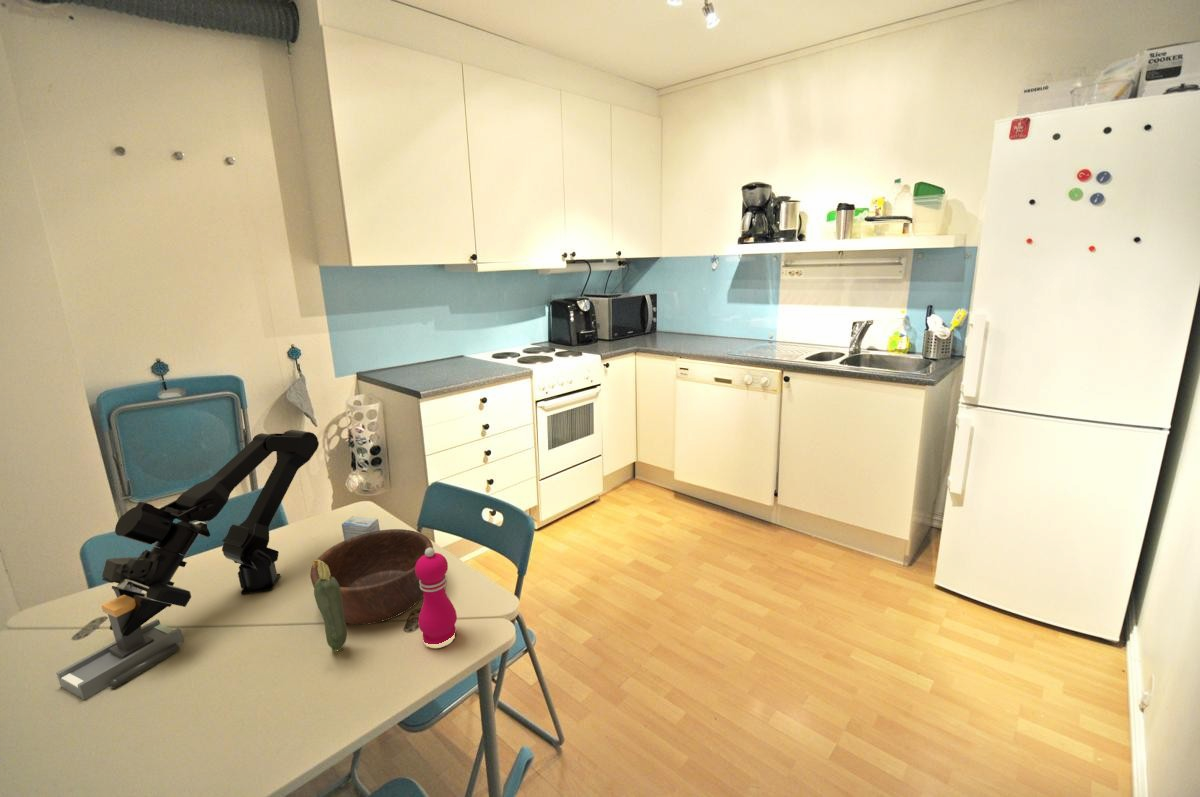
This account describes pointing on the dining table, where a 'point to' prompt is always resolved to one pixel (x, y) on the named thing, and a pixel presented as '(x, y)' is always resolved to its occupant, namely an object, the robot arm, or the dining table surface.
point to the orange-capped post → (118, 618)
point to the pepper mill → (435, 599)
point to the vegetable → (330, 606)
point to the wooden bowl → (376, 573)
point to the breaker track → (119, 662)
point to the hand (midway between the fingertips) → (118, 632)
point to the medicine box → (359, 526)
